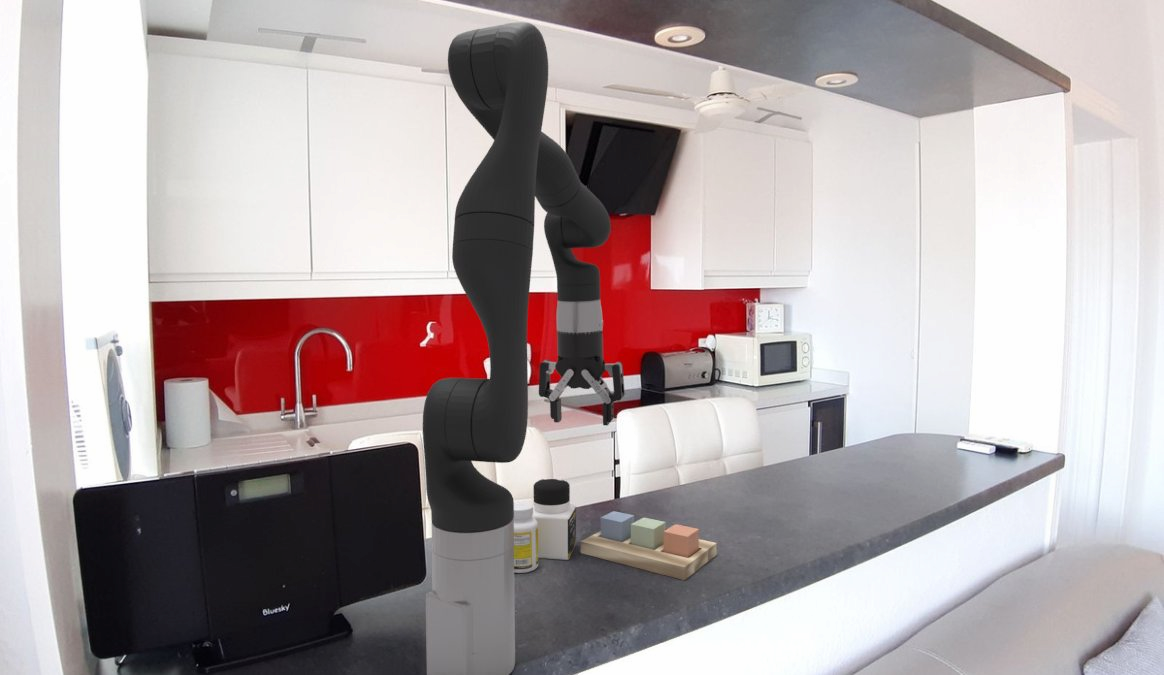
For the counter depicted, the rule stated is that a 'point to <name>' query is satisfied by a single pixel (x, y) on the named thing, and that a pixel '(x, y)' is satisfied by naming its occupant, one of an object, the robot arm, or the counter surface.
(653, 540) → the sage button
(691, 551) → the terracotta button
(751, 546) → the counter surface
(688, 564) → the board
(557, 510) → the medicine bottle
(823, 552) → the counter surface
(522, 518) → the supplement bottle
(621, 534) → the slate button
